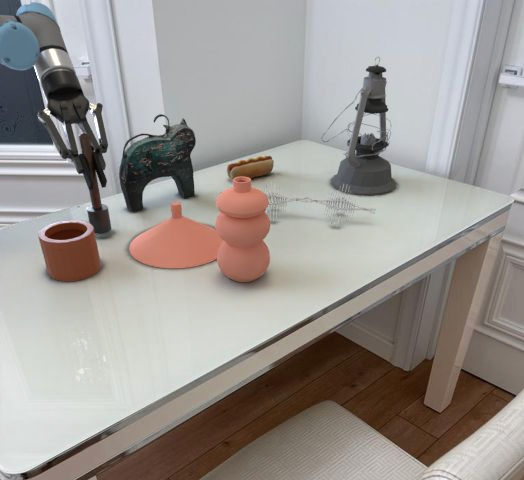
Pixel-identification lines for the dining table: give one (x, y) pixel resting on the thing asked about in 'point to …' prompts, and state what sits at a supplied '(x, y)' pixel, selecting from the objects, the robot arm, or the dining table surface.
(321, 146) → the dining table surface
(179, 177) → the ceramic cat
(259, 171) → the food
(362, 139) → the lantern
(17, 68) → the robot arm
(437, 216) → the dining table surface
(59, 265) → the jar
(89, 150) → the pestle
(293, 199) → the test tube brush
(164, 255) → the ceramic vessels
